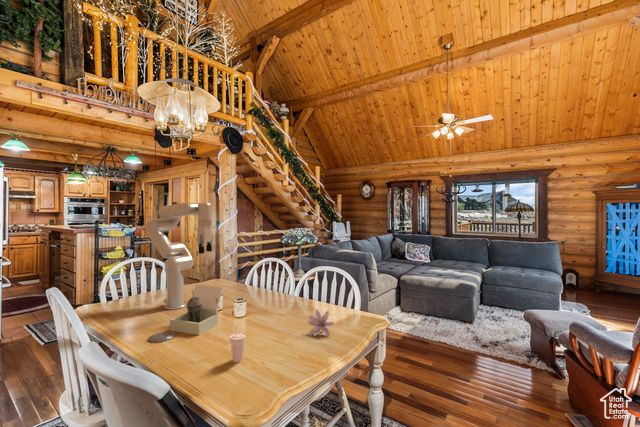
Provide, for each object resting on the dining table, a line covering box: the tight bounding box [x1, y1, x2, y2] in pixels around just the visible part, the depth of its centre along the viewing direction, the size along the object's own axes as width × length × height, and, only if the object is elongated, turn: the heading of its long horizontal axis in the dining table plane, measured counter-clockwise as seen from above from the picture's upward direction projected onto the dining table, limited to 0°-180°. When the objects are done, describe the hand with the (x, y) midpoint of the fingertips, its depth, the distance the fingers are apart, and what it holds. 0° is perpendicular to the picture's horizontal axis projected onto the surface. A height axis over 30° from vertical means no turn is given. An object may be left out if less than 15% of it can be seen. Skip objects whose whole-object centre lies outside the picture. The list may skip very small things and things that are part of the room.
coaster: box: [148, 331, 175, 344], centre depth 142 cm, size 11×11×1 cm
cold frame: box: [169, 284, 224, 336], centre depth 156 cm, size 18×19×19 cm
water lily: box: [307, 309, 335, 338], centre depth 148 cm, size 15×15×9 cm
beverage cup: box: [186, 289, 202, 323], centre depth 154 cm, size 7×7×20 cm
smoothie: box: [229, 324, 247, 363], centre depth 120 cm, size 6×6×14 cm
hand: (205, 252), depth 177 cm, fingers open, 9 cm apart
